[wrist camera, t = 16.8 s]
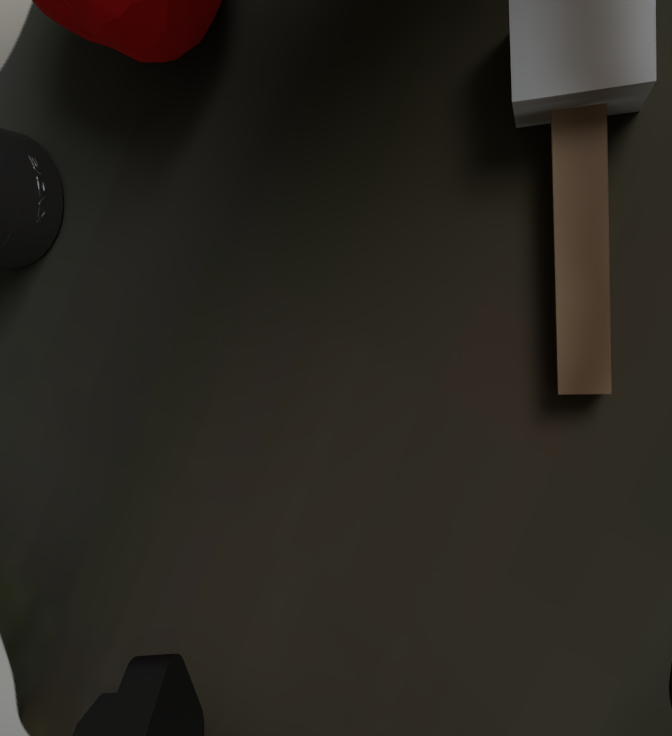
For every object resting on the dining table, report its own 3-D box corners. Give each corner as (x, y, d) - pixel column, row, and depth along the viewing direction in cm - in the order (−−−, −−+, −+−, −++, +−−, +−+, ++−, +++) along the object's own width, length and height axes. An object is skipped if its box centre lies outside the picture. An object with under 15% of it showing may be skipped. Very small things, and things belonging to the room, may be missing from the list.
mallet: (523, 387, 36) (521, 403, 31) (513, 29, 34) (508, -13, 29) (642, 386, 34) (658, 401, 29) (638, 7, 32) (655, -43, 27)
